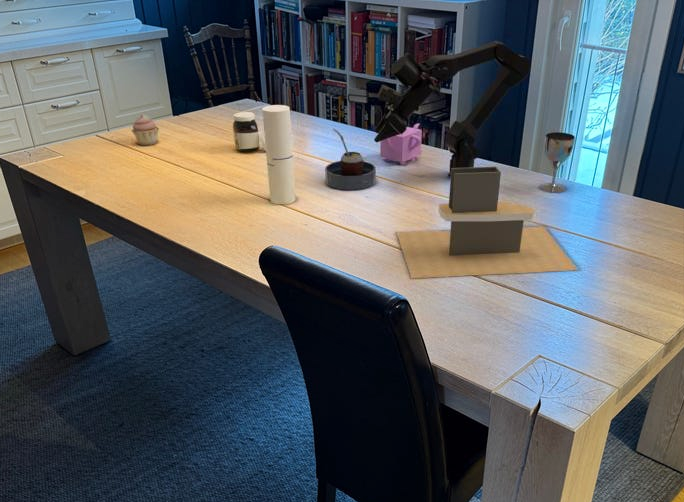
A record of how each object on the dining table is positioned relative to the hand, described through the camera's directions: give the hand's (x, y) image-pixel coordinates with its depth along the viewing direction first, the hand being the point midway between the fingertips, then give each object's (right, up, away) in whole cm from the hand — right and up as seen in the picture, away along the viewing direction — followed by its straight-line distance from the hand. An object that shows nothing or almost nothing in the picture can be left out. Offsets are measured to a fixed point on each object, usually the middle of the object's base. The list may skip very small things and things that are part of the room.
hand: (375, 136), depth 195 cm
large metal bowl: (-7, -11, +8) cm, 15 cm away
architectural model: (+25, -39, -33) cm, 57 cm away
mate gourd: (-7, -11, +8) cm, 15 cm away
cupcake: (-80, +11, +42) cm, 91 cm away
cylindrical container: (-26, -20, -4) cm, 33 cm away
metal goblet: (+52, -15, +2) cm, 54 cm away
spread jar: (-41, +7, +35) cm, 54 cm away
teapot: (+9, 0, +25) cm, 26 cm away
